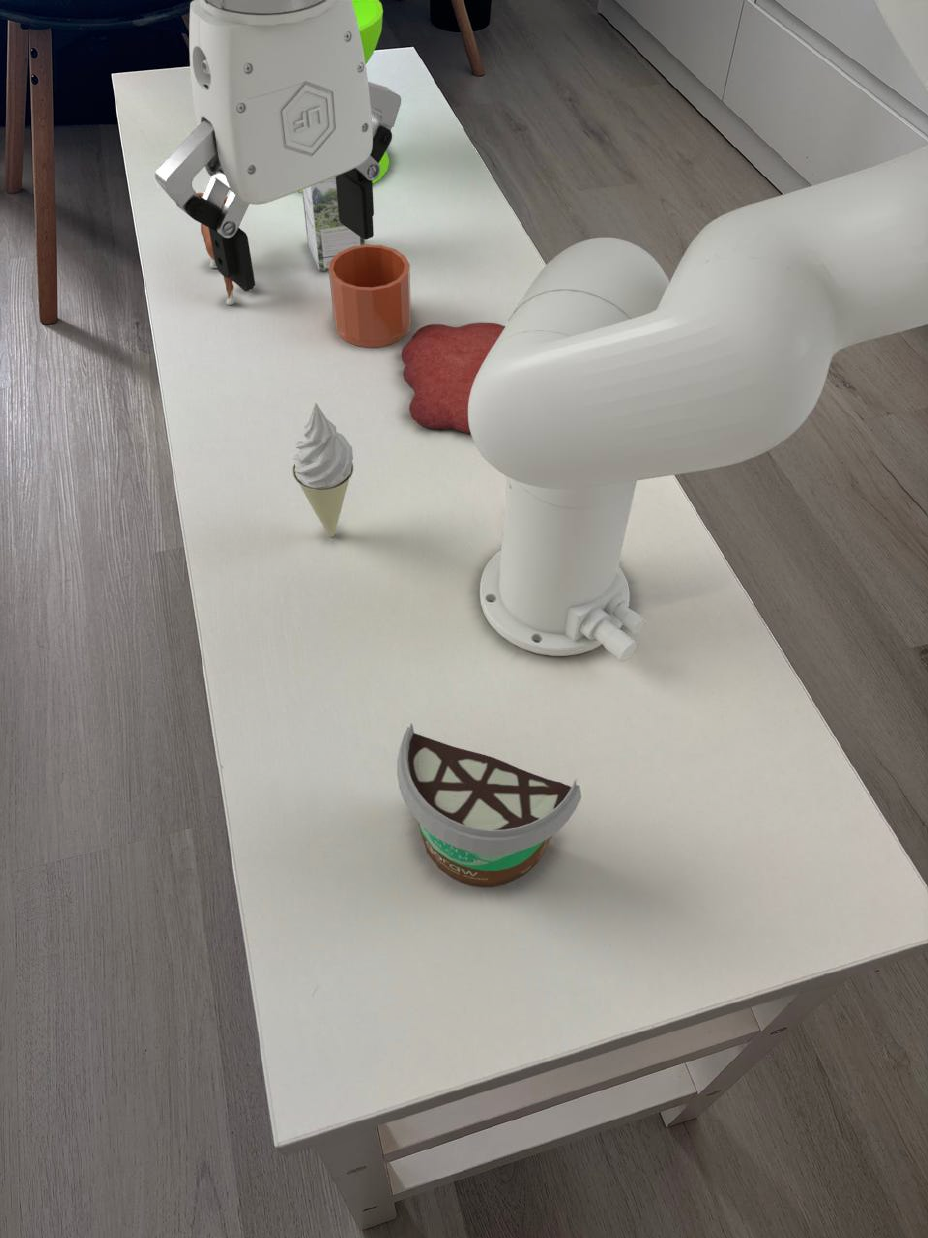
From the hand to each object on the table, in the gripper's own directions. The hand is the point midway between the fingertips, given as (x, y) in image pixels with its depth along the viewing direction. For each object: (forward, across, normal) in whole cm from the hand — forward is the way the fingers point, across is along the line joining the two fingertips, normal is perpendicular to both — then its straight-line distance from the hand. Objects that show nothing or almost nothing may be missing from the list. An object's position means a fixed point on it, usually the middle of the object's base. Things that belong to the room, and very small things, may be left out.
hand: (299, 254), depth 66 cm
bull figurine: (+27, +14, +38) cm, 49 cm away
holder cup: (+27, +21, +21) cm, 40 cm away
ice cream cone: (+27, -1, -1) cm, 27 cm away
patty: (+27, +23, +8) cm, 36 cm away
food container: (+27, -11, -32) cm, 43 cm away
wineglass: (+27, +38, +53) cm, 70 cm away
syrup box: (+27, +26, +34) cm, 51 cm away
